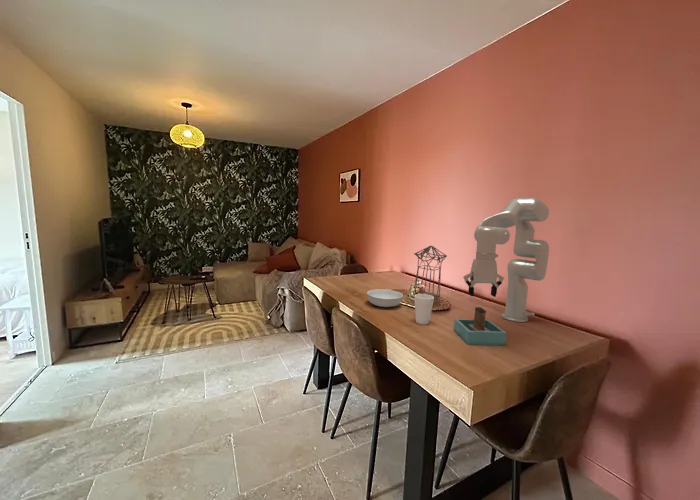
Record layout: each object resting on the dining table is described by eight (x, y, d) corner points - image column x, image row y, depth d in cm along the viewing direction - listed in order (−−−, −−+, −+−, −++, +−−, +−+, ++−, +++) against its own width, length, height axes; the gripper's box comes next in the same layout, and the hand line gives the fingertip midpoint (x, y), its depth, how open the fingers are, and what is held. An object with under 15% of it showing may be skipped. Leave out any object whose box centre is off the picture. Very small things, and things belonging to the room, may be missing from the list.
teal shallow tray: (487, 331, 147) (488, 319, 146) (505, 345, 131) (506, 332, 130) (453, 330, 146) (454, 318, 145) (467, 344, 130) (468, 331, 129)
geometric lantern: (419, 297, 202) (425, 243, 198) (443, 303, 192) (449, 246, 188) (407, 302, 190) (413, 244, 185) (432, 308, 180) (438, 247, 176)
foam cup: (410, 323, 154) (411, 297, 152) (415, 317, 162) (417, 293, 160) (429, 326, 149) (431, 300, 148) (434, 321, 157) (436, 296, 156)
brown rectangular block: (478, 333, 140) (480, 307, 139) (483, 337, 135) (485, 310, 134) (473, 333, 140) (475, 307, 139) (477, 337, 135) (480, 310, 134)
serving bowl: (362, 307, 176) (363, 295, 175) (370, 298, 196) (371, 287, 195) (399, 312, 170) (400, 300, 169) (404, 302, 190) (405, 291, 189)
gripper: (500, 255, 138) (497, 293, 140) (462, 255, 138) (459, 293, 140) (510, 258, 131) (506, 298, 133) (468, 257, 130) (465, 297, 132)
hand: (482, 295), depth 136 cm, fingers open, 9 cm apart
